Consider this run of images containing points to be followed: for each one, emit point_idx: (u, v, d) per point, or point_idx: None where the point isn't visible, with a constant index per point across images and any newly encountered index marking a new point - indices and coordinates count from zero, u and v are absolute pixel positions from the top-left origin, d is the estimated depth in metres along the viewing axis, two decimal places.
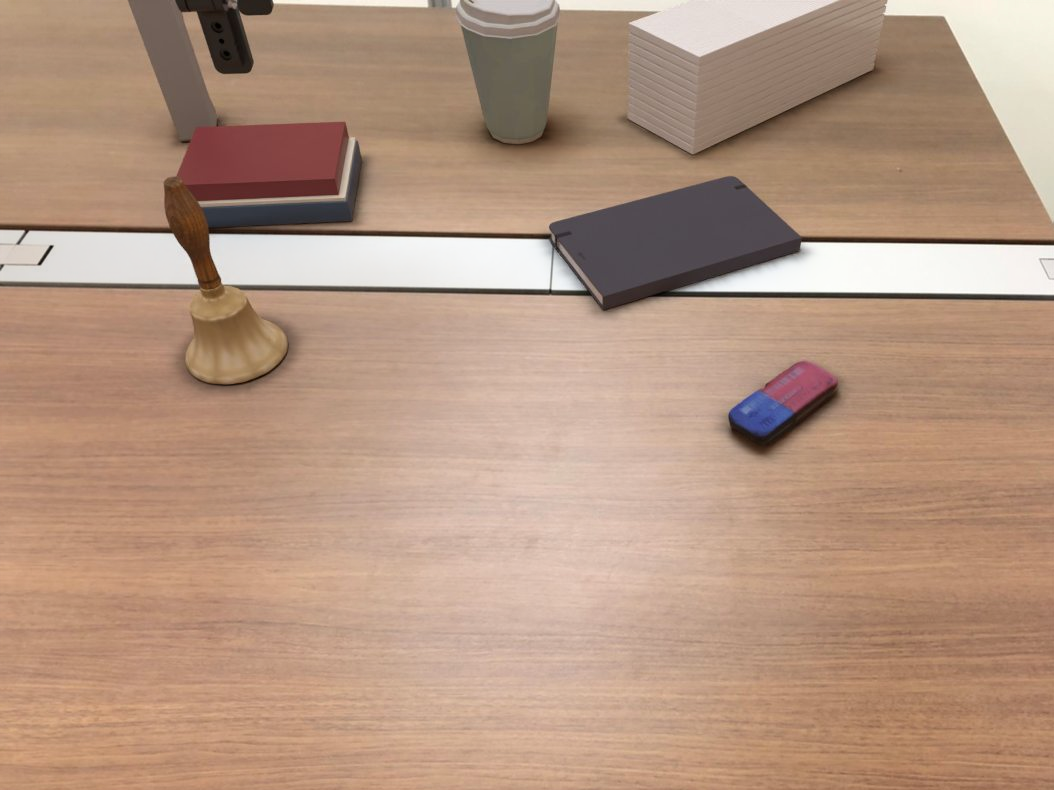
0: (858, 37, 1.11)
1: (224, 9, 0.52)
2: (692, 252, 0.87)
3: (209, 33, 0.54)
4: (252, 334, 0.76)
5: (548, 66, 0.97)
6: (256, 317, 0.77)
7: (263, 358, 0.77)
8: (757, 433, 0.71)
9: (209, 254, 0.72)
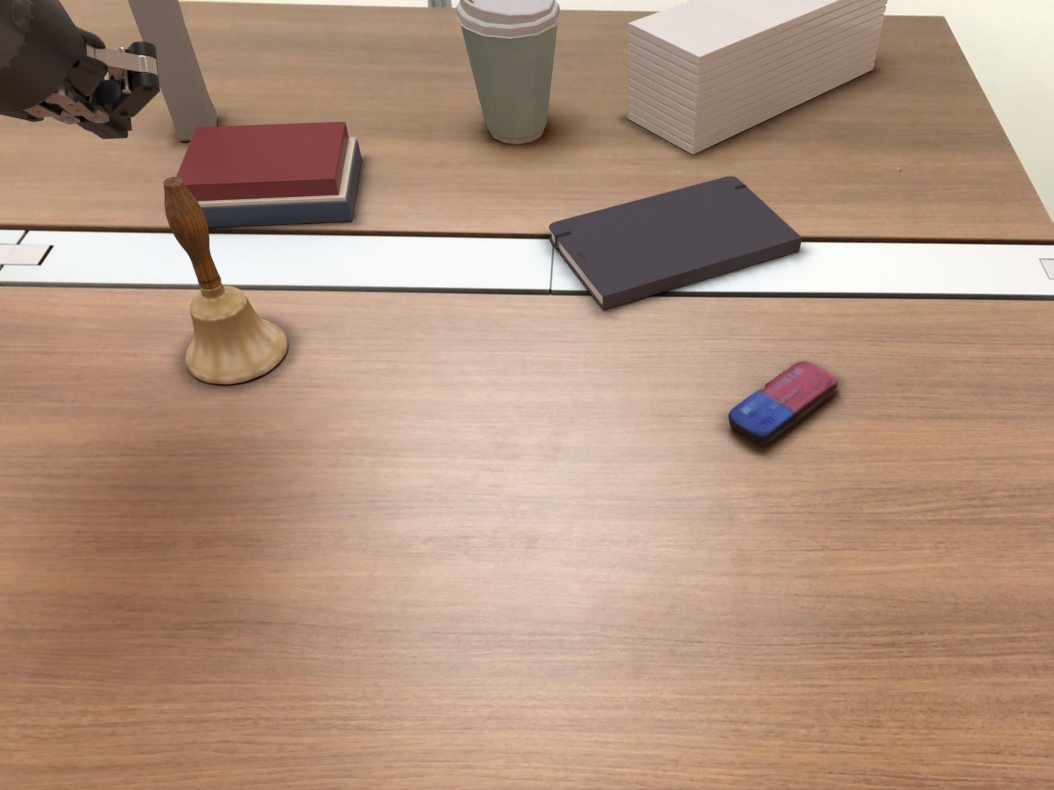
0: (858, 37, 1.11)
1: None
2: (692, 252, 0.87)
3: None
4: (252, 334, 0.76)
5: (548, 66, 0.97)
6: (256, 317, 0.77)
7: (263, 358, 0.77)
8: (757, 433, 0.71)
9: (209, 254, 0.72)
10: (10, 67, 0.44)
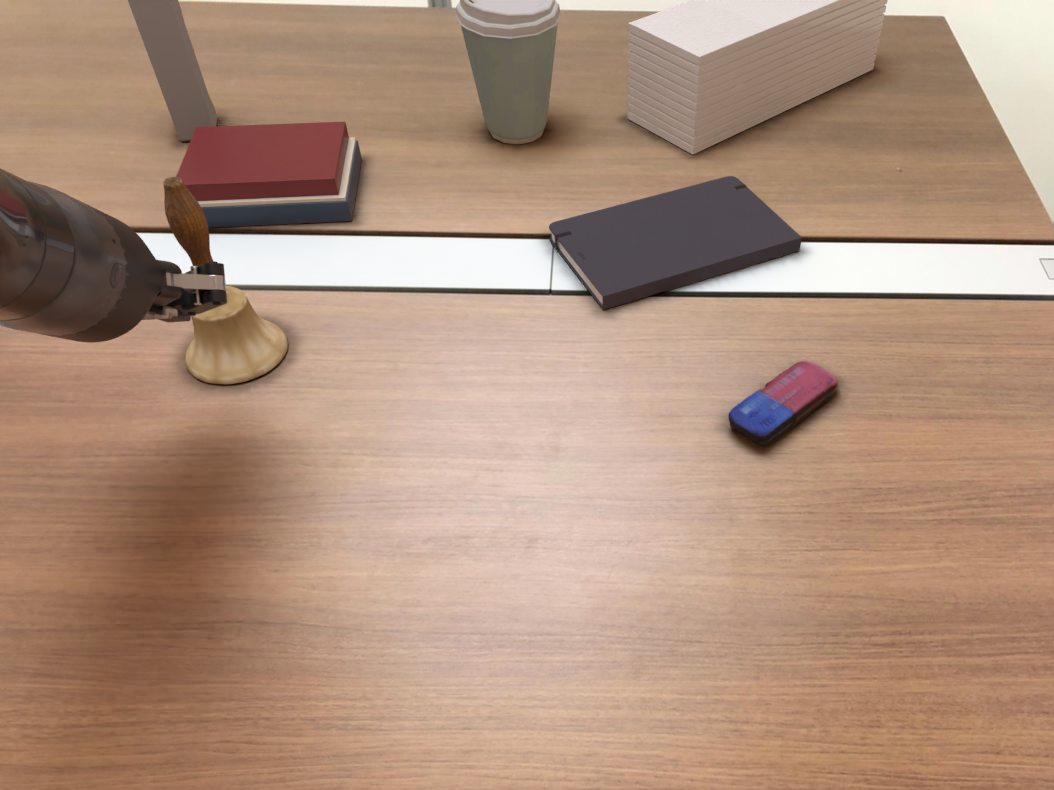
0: (858, 37, 1.11)
1: None
2: (692, 252, 0.87)
3: None
4: (252, 334, 0.76)
5: (548, 66, 0.97)
6: (256, 317, 0.77)
7: (263, 358, 0.77)
8: (757, 433, 0.71)
9: (209, 254, 0.72)
10: (108, 317, 0.51)
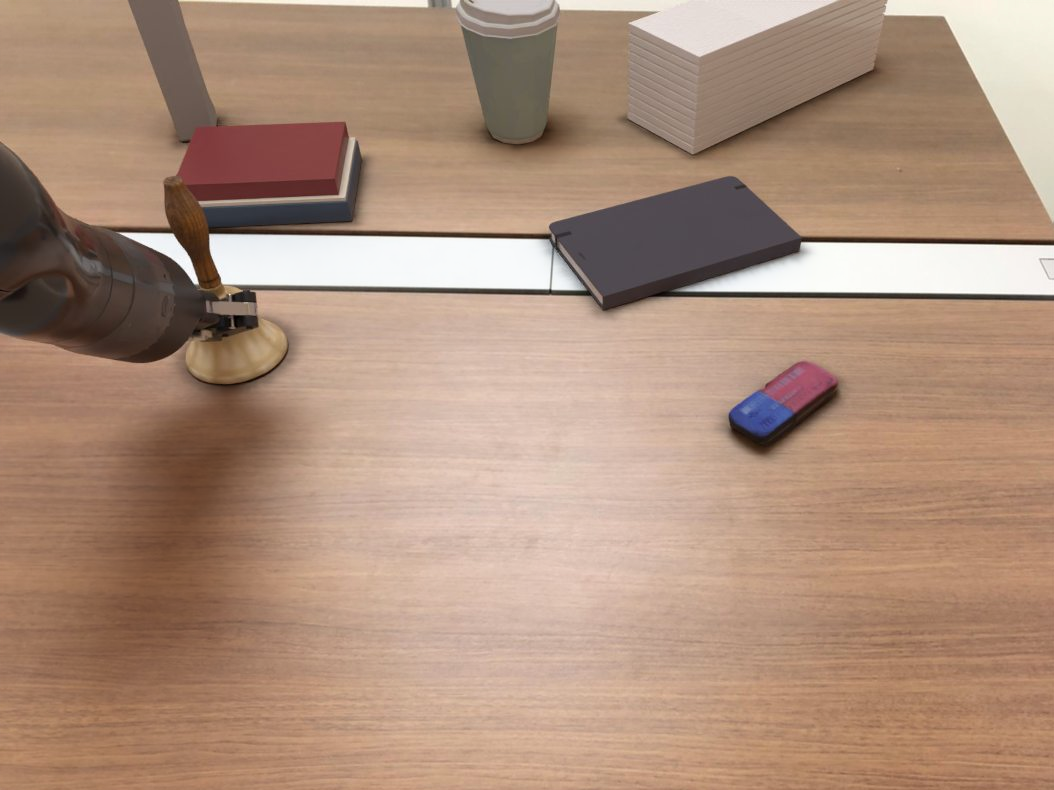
0: (858, 37, 1.11)
1: None
2: (692, 252, 0.87)
3: None
4: (252, 334, 0.76)
5: (548, 66, 0.97)
6: None
7: (263, 358, 0.77)
8: (757, 433, 0.71)
9: (209, 253, 0.72)
10: (157, 342, 0.57)
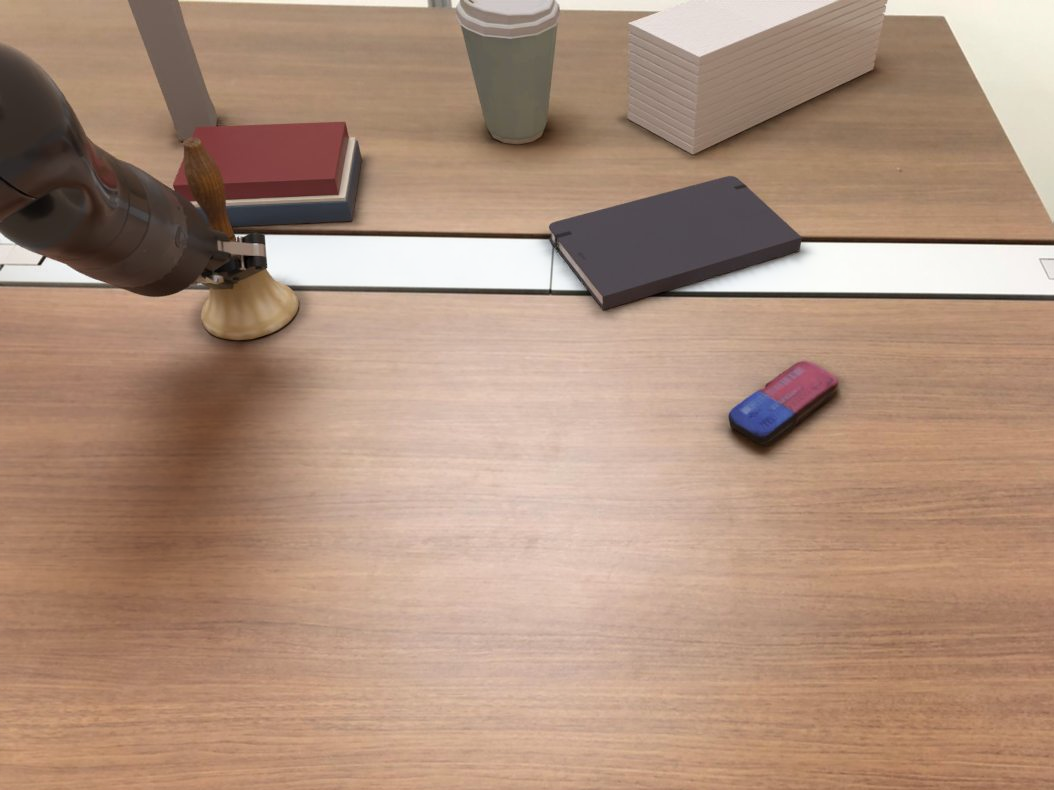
0: (858, 37, 1.11)
1: None
2: (692, 252, 0.87)
3: None
4: (263, 294, 0.80)
5: (548, 66, 0.97)
6: (268, 278, 0.80)
7: (271, 318, 0.80)
8: (758, 433, 0.71)
9: (225, 214, 0.75)
10: (171, 273, 0.61)
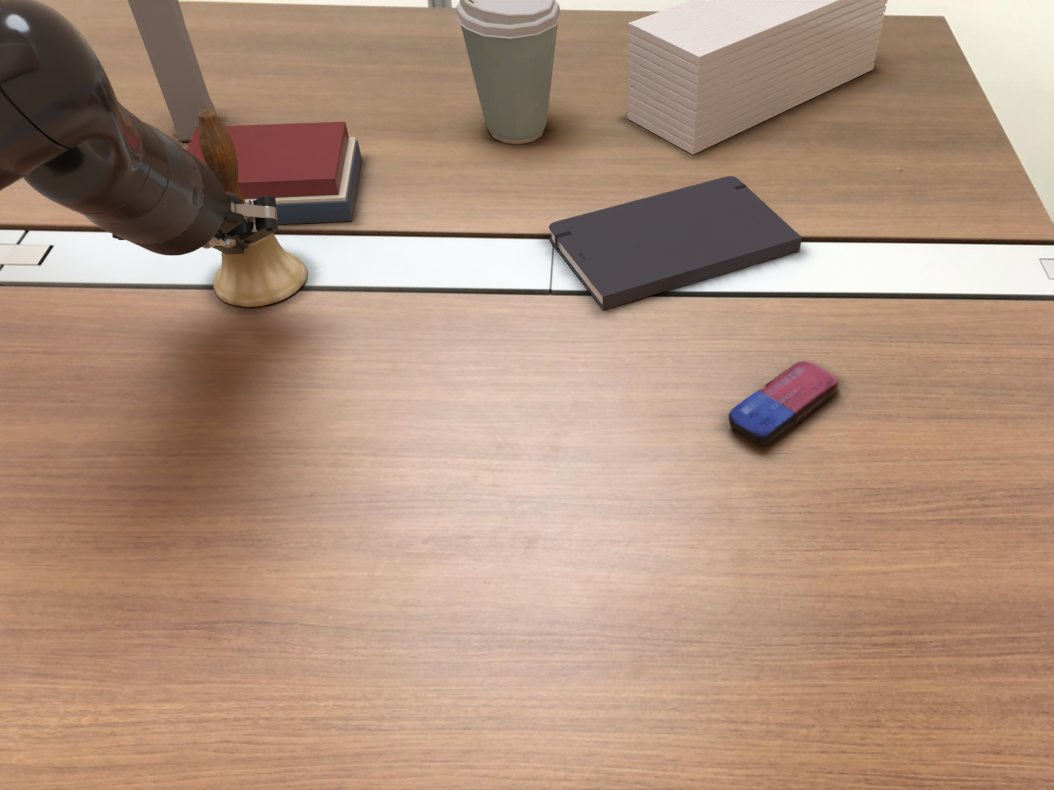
0: (858, 37, 1.11)
1: None
2: (692, 252, 0.87)
3: None
4: (272, 263, 0.83)
5: (548, 66, 0.97)
6: (278, 248, 0.83)
7: (280, 286, 0.83)
8: (758, 433, 0.71)
9: (237, 184, 0.78)
10: (188, 230, 0.64)
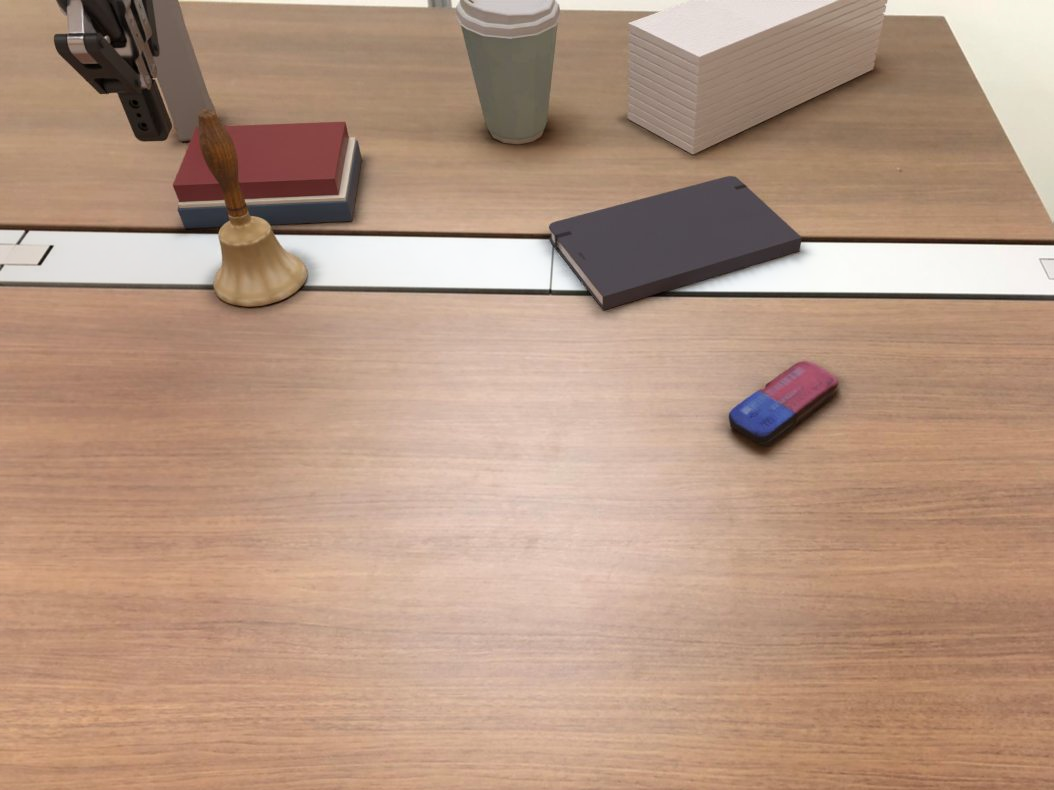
0: (858, 37, 1.11)
1: (140, 91, 0.61)
2: (692, 252, 0.87)
3: (127, 109, 0.62)
4: (273, 263, 0.83)
5: (548, 66, 0.97)
6: (278, 248, 0.83)
7: (280, 286, 0.83)
8: (758, 434, 0.71)
9: (237, 184, 0.78)
10: None
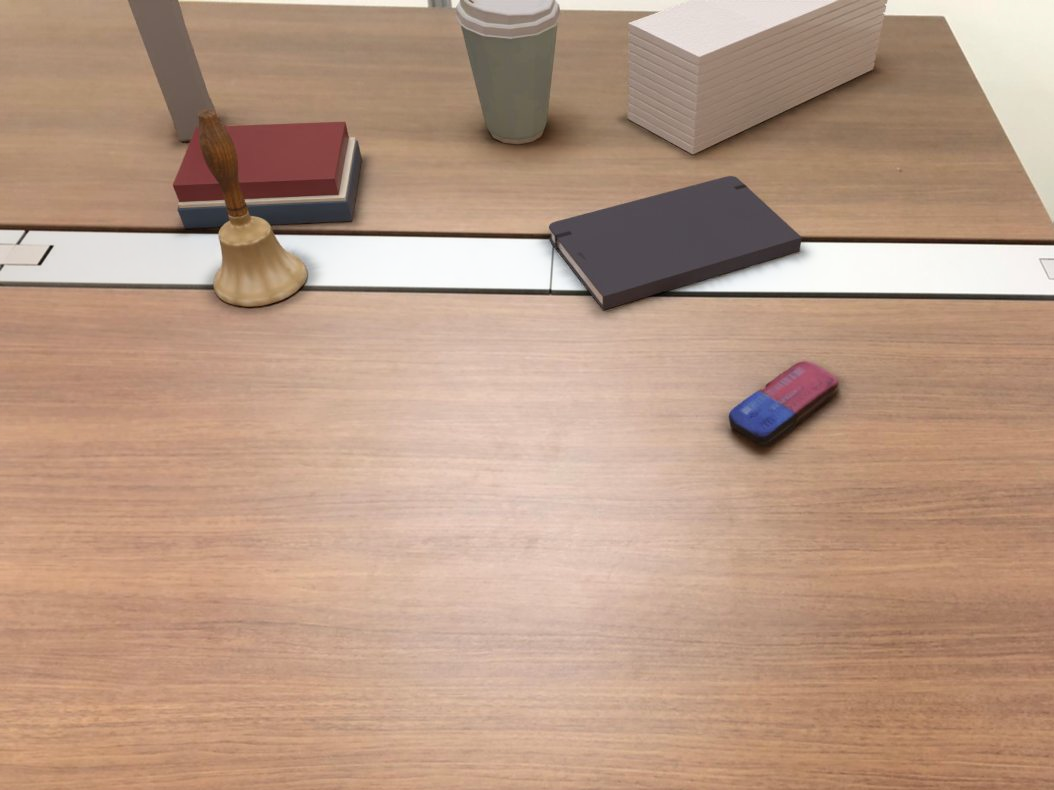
0: (858, 37, 1.11)
1: None
2: (692, 252, 0.87)
3: None
4: (273, 263, 0.83)
5: (548, 66, 0.97)
6: (278, 248, 0.83)
7: (280, 286, 0.83)
8: (758, 434, 0.71)
9: (237, 184, 0.78)
10: None
